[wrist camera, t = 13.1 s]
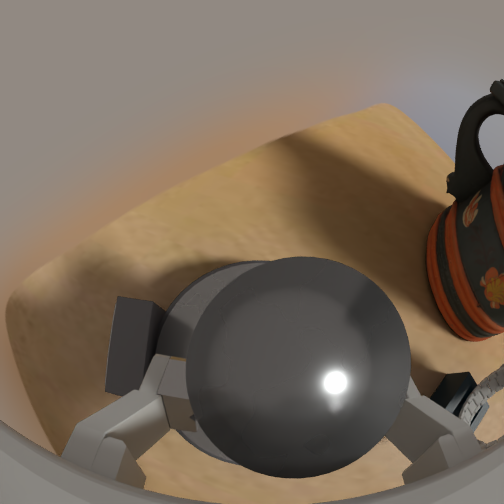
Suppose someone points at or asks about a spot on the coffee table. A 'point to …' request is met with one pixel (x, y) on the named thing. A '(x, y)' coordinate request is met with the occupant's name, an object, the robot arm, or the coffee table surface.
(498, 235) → the beer stein
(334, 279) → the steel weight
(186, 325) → the pan
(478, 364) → the coffee table surface
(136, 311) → the scale
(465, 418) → the watch
